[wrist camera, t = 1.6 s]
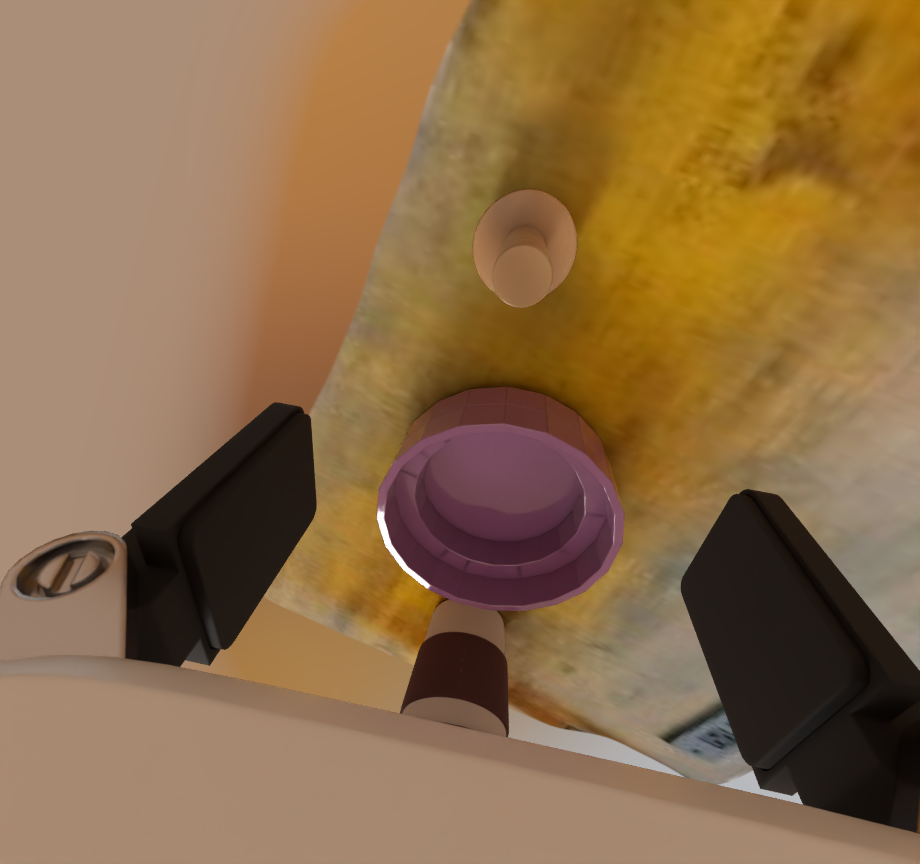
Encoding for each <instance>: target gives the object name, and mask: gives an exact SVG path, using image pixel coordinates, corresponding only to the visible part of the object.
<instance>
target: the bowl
mask: <svg viewBox="0 0 920 864" xmlns="http://www.w3.org/2000/svg"><path fill="white" fill-rule="evenodd" d="M377 521H378V524H379V528H380V531H381V534H382V537H383V541H384V544H385V546H386V547H387V549H388V550H389V551H390V553H391V554H392V555H393V557H394V558H395V560H396V561H397V562H398V564H399V565H400V566H401V568H402V569H403V570H404V571H405V572H407V573H408V574H409V575H410V576H412V577H413V578H414V579H415V580H417V581H418V582H419V583H420V584H422V585H423V586H424V587H425V588H427V589H429V590H431V591H433V592H435V593H437V594H439V595H441V596H443V597H446V598H448V599H450V600H452V601H454V602H457V603H460V604H464V605H469V606H473V607H477V608H481V609H486V610H498V611H527V610H532V609H537V608H543V607H548V606H553V605H557V604H559V603H562V602H564V601H566V600H568V599H570V598H572V597H575V596H577V595H579V594H581V593H583V592H585V591H586V590H587V589H589V588H590V587H591V586H592V585H593V584H594V583H595V582H596V581H598V580H599V579H600V578H601V577H602V576H603V575H604V574H606V573H607V572H608V570H609V569H610V567H611V565H612V563H613V561H614V559H615V557H616V555H617V554H618V552H619V550H620V548H621V546H622V544H623V529H624V510H623V507H622V504H621V500H620V497H619V493H618V490H617V486H616V483H615V480H614V476H613V473H612V469H611V466H610V463H609V461H608V458H607V455H606V453H605V450H604V447H603V445H602V442H601V439H600V438H599V436H598V435H597V434H596V433H595V432H594V431H593V430H592V429H591V428H590V426H589V425H588V424H587V423H586V422H585V421H584V420H583V419H582V418H581V416H580V415H579V414H578V413H577V412H575V411H573V410H571V409H570V408H568V407H566V406H564V405H563V404H561V403H559V402H557V401H555V400H554V399H552V398H550V397H548V396H547V395H544V394H540V393H535V392H531V391H526V390H522V389H517V388H512V387H494V388H480V389H469V390H466V391H464V392H461V393H459V394H456V395H453V396H451V397H448V398H446V399H443V400H441V401H438V402H436V403H435V404H434V405H433V406H432V407H431V408H429V409H428V410H427V411H426V412H425V413H423V414H422V415H421V416H420V417H419V418H418V419H416V420H415V421H414V422H413V423H412V425H411V427H410V429H409V431H408V432H407V434H406V436H405V438H404V440H403V442H402V443H401V445H400V447H399V449H398V451H397V453H396V455H395V457H394V459H393V461H392V463H391V465H390V467H389V469H388V471H387V473H386V475H385V477H384V479H383V481H382V483H381V486H380V488H379V494H378V505H377Z"/></svg>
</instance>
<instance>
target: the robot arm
mask: <svg viewBox="0 0 920 864" xmlns="http://www.w3.org/2000/svg"><path fill="white" fill-rule="evenodd" d="M315 512H316V489H315V474H314V459H313V444H312V429H311V418H310V416H309V415H307V414H304V411H303V409H302V408H301V407H299V406H293V405H288V404H283V403H273V404H271V405H270V406H269V407H268V408H266V409H265V410H264V411H263V412H262V413H261V414H260V415H258V416H257V417H256V418H255V419H254V420H252V421H251V422H250V423H249V424H248V425H247V426H245V427H244V428H243V429H242V430H241V431H240V432H238V433H237V434H236V435H235V436H234V437H232V438H231V439H230V440H229V441H228V442H227V443H225V444H224V445H223V446H222V447H221V448H220V449H218V450H217V451H216V452H215V453H214V454H213V455H211V456H210V457H209V458H208V459H207V460H206V461H204V463H202V464H201V465H200V466H199V467H197V468H196V469H195V470H194V471H193V472H191V473H190V474H189V475H188V476H187V477H186V478H185V479H183V480H182V481H181V482H180V483H179V484H178V485H176V486H175V487H174V488H173V489H172V490H171V491H169V492H168V493H167V494H166V495H165V496H163V497H162V498H161V499H160V500H159V501H157V502H156V503H155V504H154V505H153V506H152V507H151V508H149V509H148V510H147V511H146V512H145V513H143V514H142V515H141V516H140V517H139V518H138V519H136V520H135V521H134V522H133V523H132V524H131V526H132V529H131V530H130V531H128V533H126V534H125V535H124V536H123V537H122V538H120V537H119V536H118V535H116V534H113V533H110V532H106V531H88V532H81V533H75V534H71V535H67V536H65V537H61V538H58V539H54V540H52V541H50V542H48V543H46V544H44V545H42V546H40V547H37V548H36V549H34V550H33V551H32V552H30V553H29V554H27V555H25V556H24V557H22V558H21V559H20V560H19V561H18V562H17V563H16V564H15V565H14V566H13V567H12V568H11V569H10V570H8V572H7V574H6V576H5V577H4V579H3V581H2V583H1V586H0V864H920V671H919V670H918V668H917V667H916V666H915V665H914V663H913V662H912V661H911V660H910V658H909V657H908V656H907V655H906V653H905V652H904V651H903V650H902V648H901V647H900V646H899V644H898V643H897V642H896V641H895V639H894V638H893V637H892V636H891V634H890V633H889V632H888V631H887V629H886V628H885V627H884V626H883V624H882V623H881V622H880V621H879V619H878V618H877V617H876V616H875V614H874V613H873V612H872V611H871V609H870V608H869V607H868V606H867V604H866V603H865V602H864V601H863V599H862V598H861V597H860V596H859V594H858V593H857V592H856V591H855V589H854V588H853V587H852V586H851V584H850V583H849V582H848V581H847V579H846V578H845V577H844V576H843V574H842V573H841V572H840V571H839V569H838V568H837V567H836V566H835V564H834V563H833V562H832V561H831V559H830V558H829V557H828V556H827V554H826V553H825V552H824V551H823V549H822V548H821V547H820V546H819V544H818V543H817V542H816V541H815V539H814V538H813V537H812V536H811V534H810V533H809V532H808V531H807V529H806V528H805V527H804V526H803V524H802V523H801V522H800V521H799V519H798V518H797V517H796V516H795V514H794V513H793V512H792V511H791V509H790V508H789V507H788V506H787V504H786V503H785V502H784V501H783V499H782V498H781V497H779V496H778V495H775V494H771V493H766V492H760V491H755V490H749V489H747V490H743V491H742V492H740V493H739V494H735V495H733V496H731V498H730V499H729V500H728V502H727V504H726V506H725V507H724V509H723V511H722V512H721V514H720V516H719V517H718V519H717V521H716V522H715V524H714V526H713V527H712V529H711V531H710V532H709V534H708V536H707V537H706V539H705V541H704V542H703V544H702V546H701V547H700V549H699V551H698V552H697V554H696V556H695V557H694V559H693V561H692V562H691V564H690V566H689V567H688V569H687V571H686V572H685V574H684V576H683V578H682V581H681V593H682V596H683V599H684V602H685V605H686V607H687V610H688V613H689V615H690V618H691V621H692V623H693V626H694V629H695V632H696V634H697V637H698V640H699V642H700V645H701V648H702V651H703V653H704V656H705V659H706V661H707V664H708V667H709V670H710V672H711V675H712V678H713V680H714V683H715V686H716V688H717V691H718V694H719V697H720V699H721V702H722V705H723V707H724V710H725V713H726V716H727V718H728V721H729V724H730V726H731V729H732V732H733V734H734V737H735V740H736V743H737V745H738V748H739V751H740V753H741V755H742V757H743V759H744V760H745V762H746V763H747V764H749V765H750V766H752V768H753V771H754V774H755V776H756V779H757V781H758V784H759V786H760V789H765V790H769V791H774V792H778V793H782V794H787V795H791V796H792V795H794V794H795V793H796V792H798V794H799V796H800V799H801V801H802V803H803V805H802V804H798V803H793V802H789V801H785V800H780V799H776V798H772V797H767V796H763V795H759V794H754V793H750V792H745V791H741V790H737V789H732V788H728V787H723V786H719V785H715V784H711V783H706V782H702V781H698V780H693V779H689V778H685V777H680V776H676V775H671V774H667V773H663V772H658V771H654V770H650V769H645V768H641V767H637V766H632V765H628V764H623V763H619V762H614V761H610V760H606V759H601V758H596V757H592V756H588V755H583V754H579V753H574V752H570V751H565V750H561V749H557V748H552V747H548V746H543V745H539V744H534V743H530V742H526V741H521V740H517V739H512V738H508V737H503V736H499V735H494V734H490V733H485V732H481V731H476V730H472V729H467V728H463V727H459V726H454V725H450V724H445V723H441V722H436V721H432V720H427V719H423V718H418V717H414V716H409V715H404V714H400V713H395V712H391V711H386V710H381V709H377V708H372V707H368V706H363V705H358V704H354V703H349V702H345V701H340V700H336V699H331V698H326V697H321V696H317V695H313V694H308V693H303V692H299V691H294V690H290V689H285V688H281V687H276V686H272V685H267V684H262V683H257V682H252V681H247V680H242V679H237V678H232V677H227V676H222V675H217V674H212V673H207V672H202V671H197V670H191V669H187V668H181V667H180V666H181V665H182V663H183V662H184V661H185V660H187V661H191V662H196V663H200V664H205V665H209V666H210V664H211V663H212V661H213V660H214V658H215V657H216V655H217V654H218V652H219V651H220V649H224V650H225V649H227V648H229V647H230V646H231V645H232V644H233V642H234V641H235V639H236V638H237V636H238V635H239V633H240V632H241V630H242V628H243V627H244V625H245V624H246V622H247V621H248V619H249V618H250V616H251V615H252V613H253V611H254V610H255V608H256V607H257V605H258V604H259V602H260V601H261V599H262V597H263V596H264V594H265V593H266V591H267V590H268V588H269V587H270V585H271V584H272V582H273V580H274V579H275V577H276V576H277V574H278V573H279V571H280V570H281V568H282V567H283V565H284V563H285V562H286V560H287V559H288V557H289V556H290V554H291V553H292V551H293V550H294V548H295V546H296V545H297V543H298V542H299V540H300V539H301V537H302V536H303V534H304V533H305V531H306V529H307V528H308V526H309V525H310V523H311V522H312V520H313V518H314V515H315Z"/></svg>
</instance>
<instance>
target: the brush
mask: <svg viewBox="0 0 920 864" xmlns="http://www.w3.org/2000/svg"><path fill="white" fill-rule="evenodd" d="M576 252H577V232H576V228H575V224H574V221H573V219H572V217H571V215H570V213H569V211H568V210H567V209H566V207H565V206H564V205H563V204H562V203H561V202H560V201H559V200H558V199H556V198H555V197H553V196H552V195H550V194H548V193H546V192H543V191H540V190H534V189H522V190H517V191H513V192H510V193H508V194H506V195H504V196H502V197H501V198H499V199H497V200H496V201H495V202H494V203H493V204H491V206H490V207H489V208H488V209H487V210H486V211H485V213H484V214H483V216H482V217H481V219H480V221H479V223H478V225H477V228H476V231H475V235H474V240H473V258H474V262H475V266H476V269H477V272H478V274H479V275H480V277H481V279H482V280H483V282H484V283H485V284H486V285H487V287H488V288H489V289H491V290H492V291H493V292H494V293H496V294H497V296H498V297H499V298H500V299H501V300H502V301H503V302H504V303H506V304H507V305H510V306H512V307H517V308H525V307H530V306H532V305H535V304H536V303H538V302H539V301H541V300H542V299H543V298H544V297H545V296H546V295H547V294H549V293H550V292H552V291H553V290H555V289H556V288H557V287H558V286H559V285H560V284H561V283H562V282H563V281H564V279H565V278H566V277H567V275H568V274H569V272H570V270H571V268H572V266H573V263H574V260H575V256H576Z"/></svg>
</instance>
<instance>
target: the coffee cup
mask: <svg viewBox="0 0 920 864" xmlns="http://www.w3.org/2000/svg"><path fill="white" fill-rule="evenodd" d="M400 714H404V715H409V716H414V717H418V718H423V719H427V720H432V721H436V722H441V723H445V724H450V725H454V726H459V727H463V728H467V729H472V730H476V731H481V732H485V733H490V734H494V735H499V736H503V737H508V734H509V719H508V718H509V717H508V716H509V715H508V673H507V661H506V658H505V642H504V623H503V620H502V617H501V616H500V614H499V613H498V612H497V611H496V610H486V609H481V608H477V607H473V606H469V605H464V604H460V603H457V602H454V601H452V600H450V599H449V600H446V601H444V602H442V603H441V604H440V605H438V606H437V607H436V609H435V610H434V612H433V614H432V618H431V621H430V624H429V627H428V631H427V634H426V637H425V641H424V642H423V644H422V645H421V647H420V649H419V652H418V655H417V659H416V662H415V665H414V668H413V671H412V675H411V678H410V681H409V685H408V688H407V691H406V694H405V698H404V700H403V704H402V707H401V711H400Z"/></svg>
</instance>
